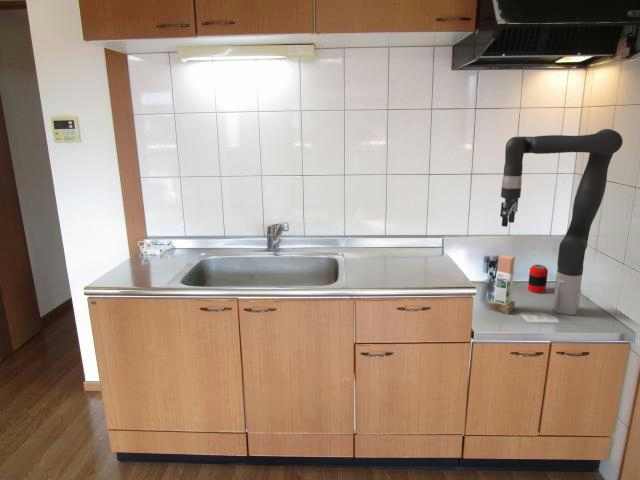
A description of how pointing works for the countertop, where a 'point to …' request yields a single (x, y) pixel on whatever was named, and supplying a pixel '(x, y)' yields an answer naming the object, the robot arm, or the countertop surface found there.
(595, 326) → the countertop surface
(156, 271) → the countertop surface
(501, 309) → the walnut slab
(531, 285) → the soda can
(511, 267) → the terracotta block
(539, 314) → the countertop surface
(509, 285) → the syrup box
